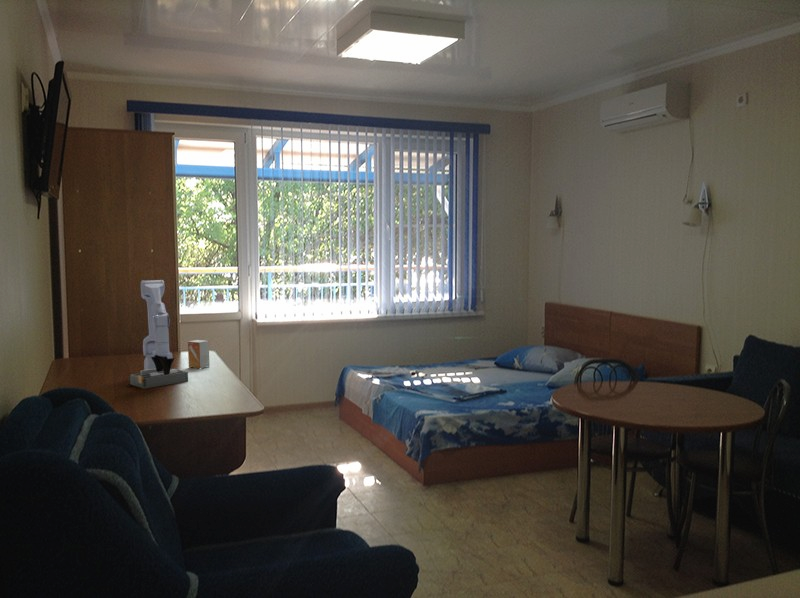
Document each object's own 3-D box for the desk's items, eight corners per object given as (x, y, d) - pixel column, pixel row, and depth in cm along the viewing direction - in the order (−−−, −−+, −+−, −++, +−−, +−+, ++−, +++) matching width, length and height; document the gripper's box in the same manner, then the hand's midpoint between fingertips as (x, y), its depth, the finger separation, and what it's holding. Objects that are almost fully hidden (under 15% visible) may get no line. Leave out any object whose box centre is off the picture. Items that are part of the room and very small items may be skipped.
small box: (188, 367, 331) (187, 341, 330) (198, 365, 337) (197, 339, 335) (200, 368, 327) (199, 342, 326) (210, 366, 333) (209, 340, 332)
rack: (129, 384, 292) (128, 371, 291) (173, 377, 306) (173, 365, 306) (142, 388, 282) (142, 375, 282) (188, 381, 297) (187, 368, 296)
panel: (176, 380, 296) (175, 369, 296) (177, 380, 295) (177, 369, 295) (149, 384, 288) (149, 372, 287) (151, 385, 287) (150, 373, 286)
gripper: (145, 341, 292) (146, 372, 293) (160, 344, 282) (162, 376, 283) (160, 339, 297) (162, 370, 298) (176, 342, 287) (178, 374, 288)
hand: (163, 373), depth 291 cm, fingers open, 6 cm apart
